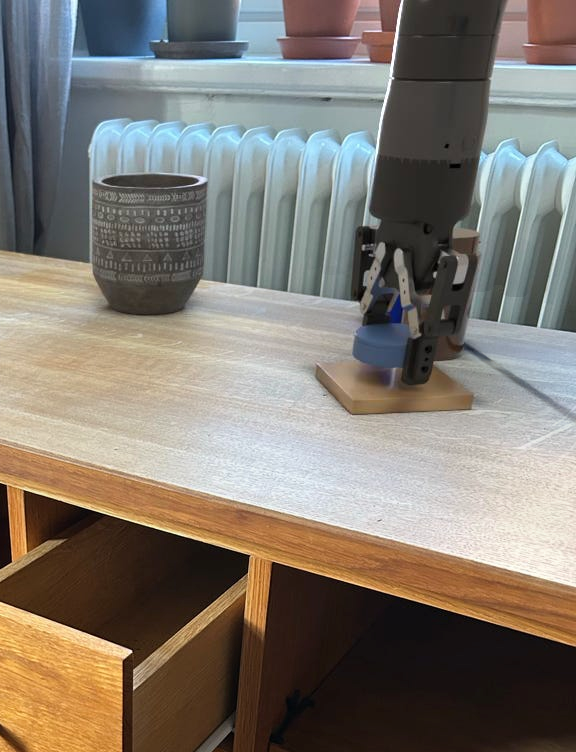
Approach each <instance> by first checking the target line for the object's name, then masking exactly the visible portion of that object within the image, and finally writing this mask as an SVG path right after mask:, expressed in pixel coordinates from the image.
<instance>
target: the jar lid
mask: <svg viewBox="0 0 576 752" xmlns="http://www.w3.org/2000/svg"><path fill="white" fill-rule="evenodd" d="M408 337H411V336H410V330H409V325H408V324H397V323H381V324H372V325H366V326H362V325H361V326H359V327H358V328H356V329H355V331H354V335H353V342H352V343H353V345H352V351H351V355H352V357H353V358H354V359H355V360H356V361H361V362H363V363H366V364H370V365H374V366H380V367H390V368H403V363H404V357H405V352H406V346H407V340H408Z"/></svg>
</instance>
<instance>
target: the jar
mask: <svg viewBox="0 0 576 752" xmlns="http://www.w3.org/2000/svg"><path fill="white" fill-rule="evenodd" d="M481 236H482V234H481V232H480V231H478V230H474V229H469V228H463V227H454V228H453V246H454V251H456V252H458V253H460V254H475V255H476V256H477V260H478V263H477V268H476V271H475V275H474V279H473V283H472V286H471V290H470V294H469V298H468V302H467V305H466V309H465V313H464V317H463V320H462V324H461V328H460V331H459V333H458V334H455V335H445V336H441V337H440V338H439V339H438V342H437V347H436V352H435V357H434V360H433V361H447V360H454V359H457V358H459V357H461V356H462V354H463V350H464V345H465V344H464V343H465V339H466V333H467V329H468V324H469V320H470V315H471V310H472V305H473V299H474V294H475V290H476V284H477V280H478V276H479V275H478V274H479V269H480V264H481V260H482V252H481V251H480V250H479V245H480V244H481V243H482V241H481ZM432 291H433V287H431V289H429V290H428V291H427V293H419V294H418V295H432ZM450 308H451V306H446V307H445V308H444V314H445V319H448V316H449V312H450ZM427 312H428V308H422V317H423V322H425V320H426V316H427ZM400 324H408V325H409V320H408V312H407V311H406V310H404V309H403V310H402V316H401V322H400Z"/></svg>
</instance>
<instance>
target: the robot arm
mask: <svg viewBox="0 0 576 752" xmlns="http://www.w3.org/2000/svg"><path fill="white" fill-rule="evenodd" d="M508 2H509V0H401V2H400V6H399V11H398V17H397V23H396V31H395V38H394V44H393V51H392V59H391V66H390V74H389V77H390V78H389V81H388V85H387V91H386V94H385V98H384V102H383V106H382V110H381V115H380V121H379V128H378V134H377V143H376V150H375V156H374V157H375V158H374V164H373V172H372V177H371V178H372V179H371V185H370V186H371V187H370V194H369V201H368V207H367V209H368V213H369V214H370V216H372V217H373V218H375V219H377V220H379V221H380V222H379V224H372V225H358V226H357V227H356V230H355V234H354V245H353V246H354V247H353V258H352V270H351V284H350V293H349V294H350V299H351V301H352V302H358V303H359V312H360V314H361V315H363V317H362V324H361V327H362V326H366V325H372V324H381V323H390V319H391V315H389V314H387V313H386V312H390V311H391V309H392V307H393V305H394V303H395V301H396V299H397V297H398V295H399V294H400V297H401V305H402V308H403V309H404V310H406V311H407V312H408V320H409V330H410V336H411V337H408V340H407V346H406V352H405V357H404V363H403V369H402V375H401V381H402V382H403V383H405V384H407V385H419V384H425V383H427V382H428V380H429V378H430V375H431V373H432V368H433V365H434V362H435V360H434V357H435V352H436V347H437V342H438V339H439V338H440V337H441V336H445V335H455V334H458V333H459V331H460V328H461V324H462V320H463V317H464V313H465V309H466V305H467V302H468V298H469V294H470V290H471V286H472V283H473V279H474V275H475V271H476V268H477V263H478V260H477V256H476V255H475V254H460V253H458V252H456V251H454V246H453V228H455V226H456V225H457V224H458V223H459V222H461V221H464V220H465V219H466V218H467V217H468V216H469V215H470V212H471V206H472V201H473V197H474V191H475V187H476V182H477V175H478V170H479V166H480V161H481V154H482V149H483V145H484V144H483V143H484V140H485V139H484V138H485V134H486V128H487V123H488V117H489V108H490V107H489V106H490V91H491V83H492V80H491V78H492V76H493V71H494V66H495V62H496V61H495V60H496V56H497V51H498V44H499V40H500V34H501V30H502V24H503V19H504V16H505V12H506V9H507V6H508ZM367 271H368V273H367V275H366V277H365V274H366V272H367ZM431 287H433V291H432V295H418V294H419V293H427V291H428V290H429V289H431ZM382 294H384V295H382ZM446 306H451V308H450V312H449V316H448V319H445V314H444V308H445V307H446ZM422 308H428V312H427V316H426V320H425V322H423V317H422Z"/></svg>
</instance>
